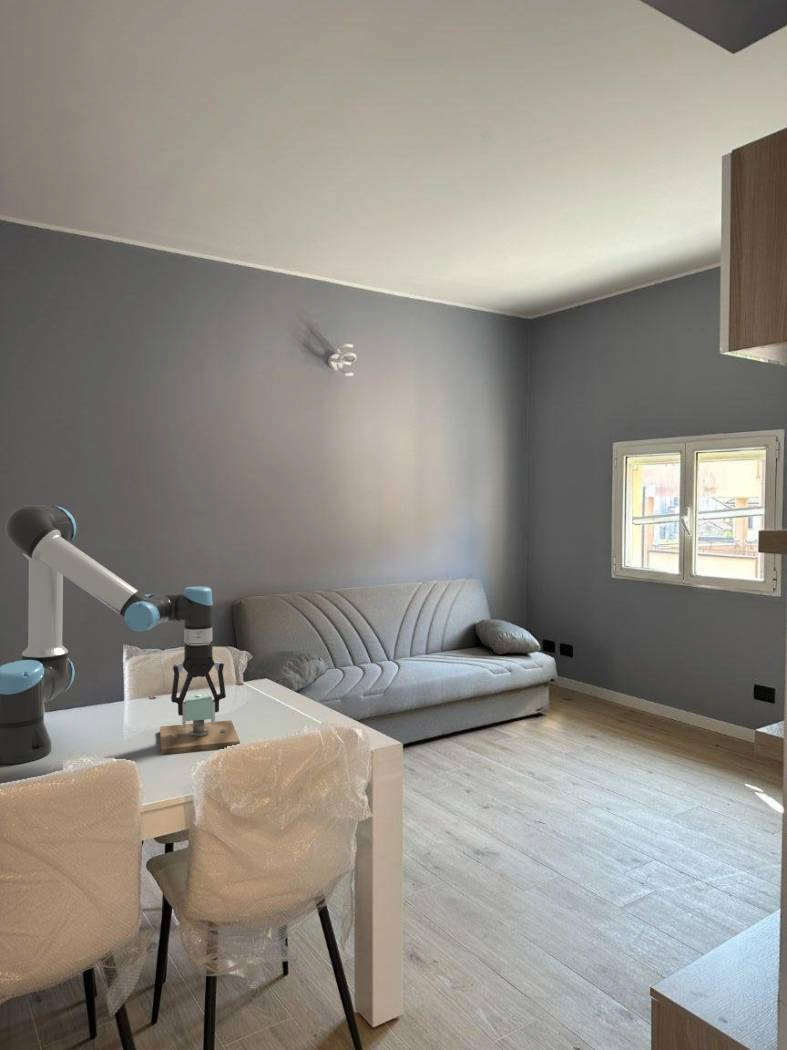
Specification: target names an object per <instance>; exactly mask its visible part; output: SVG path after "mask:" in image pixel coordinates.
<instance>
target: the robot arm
mask: <svg viewBox="0 0 787 1050" xmlns="http://www.w3.org/2000/svg"><path fill="white" fill-rule="evenodd" d="M76 533H77V524H76V520H75V518H74V516H73V515H72V514H71V513H70V512H69V511H68V510H67V509H65V508H63V507H60V506H57V505H50V504H47V505H45V504H44V505H34V504H33V505H32V504H31V505H24V506H20V507H18V508H17V509H14V510H13V511H12V512H11V513H10V514H9V515H8V517H7V519H6V522H5V534H6V537H7V539H8V541H9V542H10V544H12V545H13V546H14V547H15V548H16V549H17V550H19V551H20V552H22V555H23V556H24V557H25V559H27V560H28V622H27V624H28V631H27V633H28V634H27V635H28V636H27V637H28V640H27V641H28V643H27V648H26V649H25V650H23V651H22V652H21V660H16V661H13V662H7V663H4V664H3V665H1V666H0V765H13V764H16V765H17V764H22V763H28V762H32V761H36V760H39V759H41V758H42V759H43V758H44V757H46V756H48V755H49V754H50V753H51V752H52V741H51V738H50V734H49V733H48V730H47V727H46V724H45V719H44V718H45V717H44V715H45V714H44V713H45V712H44V711H45V708H44V707H45V706H44V705H45V704H46V703H48V702H50V701H51V700H53V699H57V698H59V697H60V696H61V695H63V694H64V693H65V692H66V691H67V690H69V688H70V687H71V686H72V684H73V681H74V678H75V675H76V674H75V666H74V664H73V662H72V661H71V660H70V659H69V650H68V649H67V648H66V647H65V646H64V645H63V624H64V623H63V619H64V618H63V617H64V616H63V612H64V610H63V605H64V603H63V601H64V577H65V578H66V579H68V580H69V581H71V582H72V583H73V584H75V585H77V586H78V587H79V588H80V589H82V590H83V591H85V592H86V593H87V594H90V595H91V596H92V597H94V598H95V599H97V600H98V601H99V602H101V603H103V604H104V605H105V606H107V607H108V608H110V609H111V610H112V611H114V612H115V613H116V614H118V615H120V616H121V617H122V618H124V622H125V625H126V626H127V627H128V628H129V629H130V630H132V631H135V632H144V631H145V632H146V631H149V630H151V629H154V627H156V626H158V625H161V624H163V623H166V622H183V623H184V624H183V625H184V626H183V627H184V629H183V630H184V634H183V635H184V636H183V637H184V638H183V640H184V643H185V644H184V645H183V647H184V648H183V649H184V650H183V652H184V655H183V656H184V659H183V661H182V663H181V664H173V666H172V669H173V680H172V682H173V683H172V687H171V688H172V689H171V697H170V699H171V702H172V703H175V704H177V714H178V716H181V719H182V721H181V725H182V727H183V728H186V724H187V721H186V704H185V696H187V692H188V690H189V688H190V685H191V682H192V680H193V679H194V678H197V677H201V678H204V677H205V680H206V681H207V684H208V685H207V686H208V687H209V689H210V692H211V695H212V696H213V699H212V719H210V720H211V721H210V722H211V723H212V725H215V722H216V713H219V712H220V701H221V700H222V699H225V698H226V697H227V694H226V688H225V681H224V674H223V671H224V666H225V664H224V662H222V661H215V660H214V659H213V658H214V657H213V643H212V641H213V605H214V603H213V593H212V588H211V587H208V586H198V585H197V586H187V587H185V588H184V590H183V593H181V594H177V593H175V594H173V593H172V594H171V593H167V594H166V593H164V594H163V593H148V594H143V593H142V592H141V591H140V590H138V589H136V588H135V587H133V585H130V583H128V582H126V581H125V580H123V579H122V578H121V577H119V576H118V575H116V574H115V573H114V572H112V571H111V570H109V569H108V568H106V567H105V566H104V565H102V564H100V563H99V562H98V561H97V560H95V559H94V558H92V557H91V556H89V555H87V554H86V553H85V552H83V551H82V550H80V549H79V548H77V547H76V546H75V545H73V544H72V543H71V542H72V541H73V539H74V538H75V536H76ZM213 667H215V670H216V671H217V679H218V680H217V681H218V686H219V693H217V690H216V687H215V685H214V682H213V679H212V678H211V676H210V672H211V670H212V669H213ZM183 669H184V670H185V671H186V672H187V674H186V678H185V680H184V682H183V685H182V688H181V691H180V693H179V696H178V695H177V694H178V689H179V679H180V673H182V671H183ZM177 696H178V697H177Z"/></svg>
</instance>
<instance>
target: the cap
mask: <svg viewBox="0 0 787 1050" xmlns="http://www.w3.org/2000/svg"><path fill="white" fill-rule="evenodd" d="M212 700H213V698H212V693H211V694H195V695H186V696H185V698H184V702H185V704H186V722H190V721H192V722H193V720H204V721H205V720H211V719H212Z"/></svg>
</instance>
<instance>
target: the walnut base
mask: <svg viewBox="0 0 787 1050" xmlns="http://www.w3.org/2000/svg"><path fill="white" fill-rule="evenodd" d="M159 733H160V734H159V735H160V736H159V737H160V748H161V749H160V751H161V755H169V754H170V755H171V754H181V753H191V752H199V751H209V750H212V751H213V750H219V749H220V748H222V749H225V748H224V747H227V746H232V745H237V744H240V743H241V740H240V739H239V735H238V734H237V731H236V729H235V725H234V724H233V721H232V719H229V720H220V721H219V720H218V721H215V725H212V723H211V721H210V722H209V721H208V722H206V721H205V720H193V721H192V723H186V728H183V727H182V724H174V725H164V726H162V725H161V726H159ZM240 745H241V744H240ZM220 750H221V749H220Z"/></svg>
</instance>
